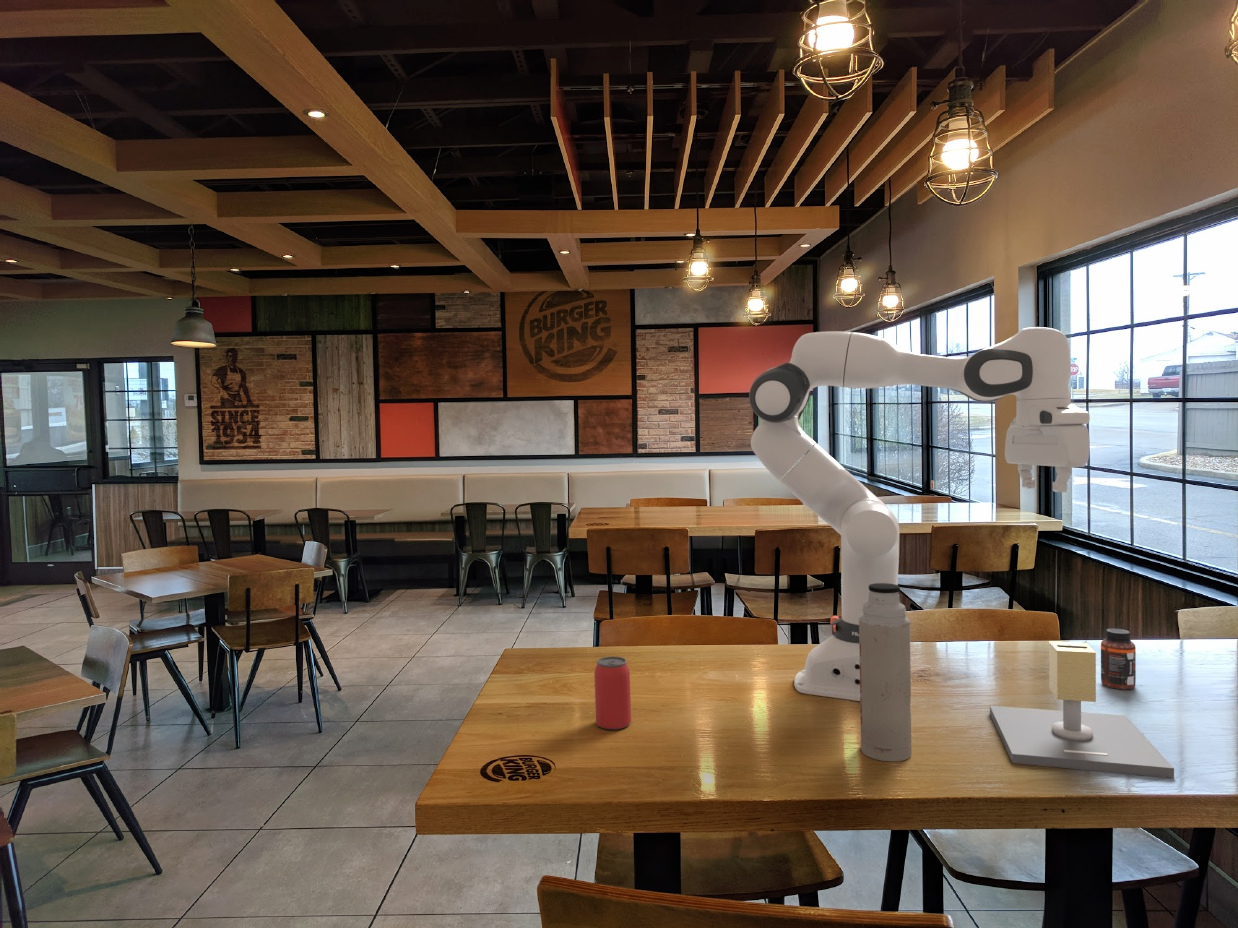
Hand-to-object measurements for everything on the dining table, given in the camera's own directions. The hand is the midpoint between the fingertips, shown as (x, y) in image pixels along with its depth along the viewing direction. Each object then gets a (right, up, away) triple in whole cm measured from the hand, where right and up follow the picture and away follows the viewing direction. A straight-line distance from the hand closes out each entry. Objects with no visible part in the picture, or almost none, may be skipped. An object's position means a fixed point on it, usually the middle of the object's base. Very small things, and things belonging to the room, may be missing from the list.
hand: (1043, 490), depth 143 cm
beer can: (-80, -44, +1) cm, 91 cm away
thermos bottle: (-34, -43, -15) cm, 57 cm away
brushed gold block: (-3, -34, -13) cm, 37 cm away
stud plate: (-3, -42, -13) cm, 44 cm away
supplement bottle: (+23, -41, +14) cm, 48 cm away
